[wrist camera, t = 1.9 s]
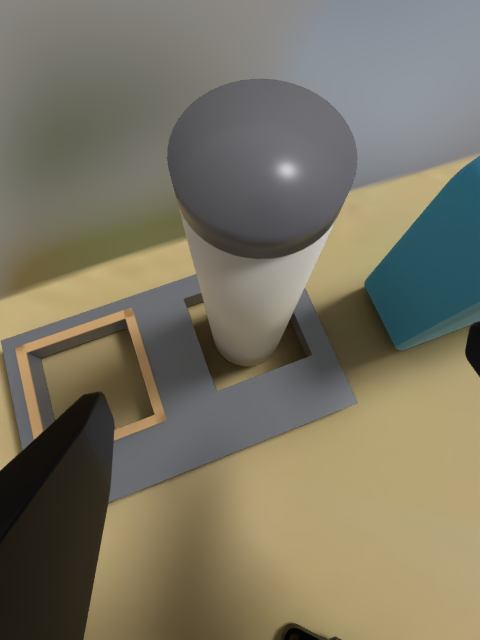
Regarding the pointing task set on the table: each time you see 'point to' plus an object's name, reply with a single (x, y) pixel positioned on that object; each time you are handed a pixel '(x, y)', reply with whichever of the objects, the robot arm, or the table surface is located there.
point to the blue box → (433, 267)
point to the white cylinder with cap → (258, 203)
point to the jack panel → (180, 385)
